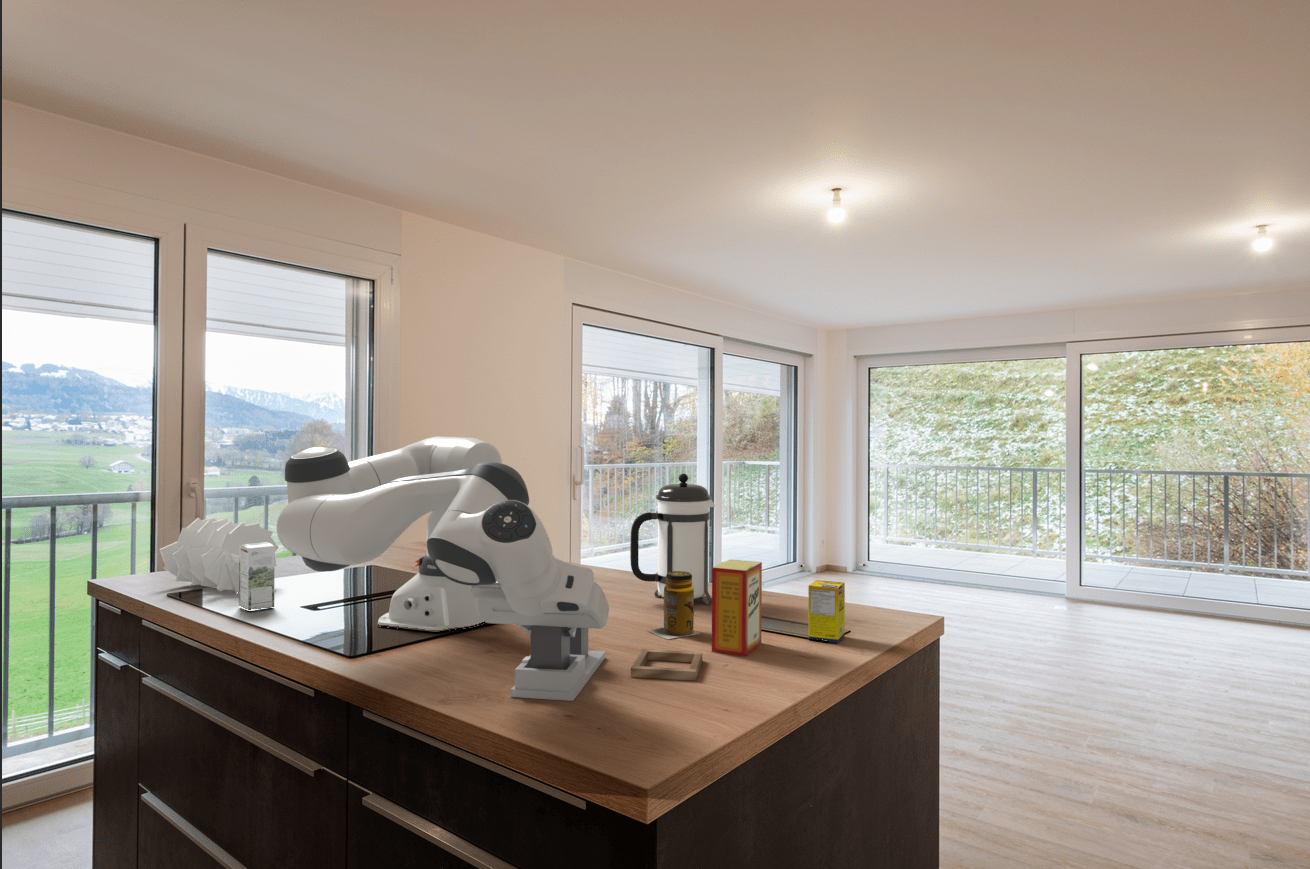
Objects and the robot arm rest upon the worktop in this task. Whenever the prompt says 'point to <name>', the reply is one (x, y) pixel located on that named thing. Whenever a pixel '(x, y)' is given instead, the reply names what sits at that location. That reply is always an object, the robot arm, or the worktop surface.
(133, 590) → the worktop surface
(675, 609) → the condiment
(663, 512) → the coffee press
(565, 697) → the tray and post stand
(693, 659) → the holder frame
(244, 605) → the syrup box
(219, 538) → the spiral staircase
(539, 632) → the dark grey block
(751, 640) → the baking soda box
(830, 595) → the supplement box
